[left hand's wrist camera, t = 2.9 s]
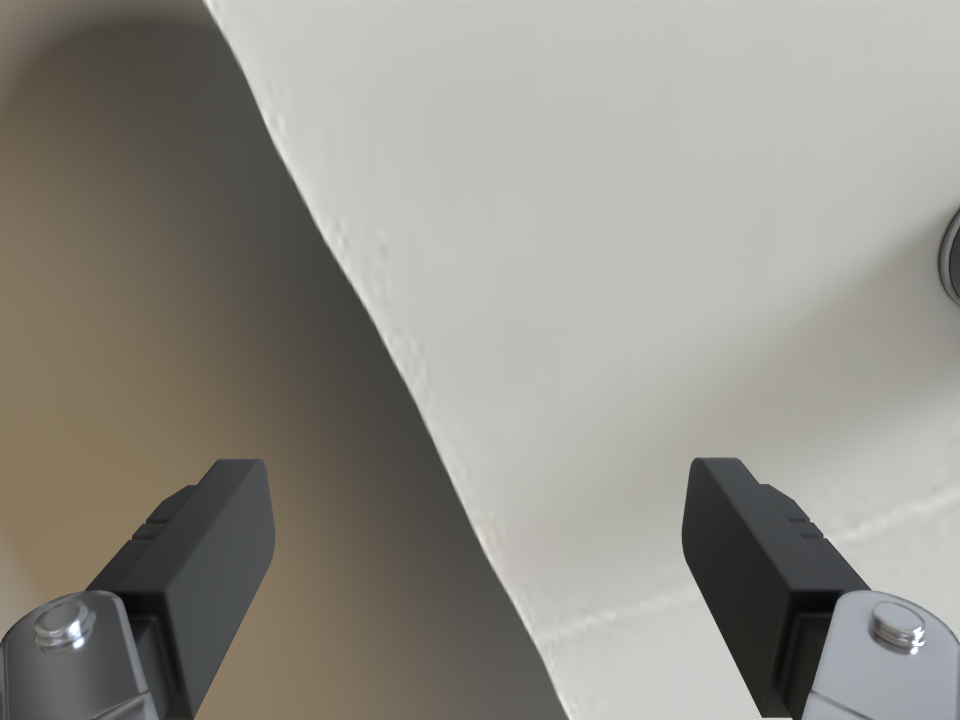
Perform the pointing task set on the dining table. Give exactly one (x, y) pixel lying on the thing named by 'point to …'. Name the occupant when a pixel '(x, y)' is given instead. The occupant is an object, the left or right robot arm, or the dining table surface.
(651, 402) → the dining table surface
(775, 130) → the dining table surface
